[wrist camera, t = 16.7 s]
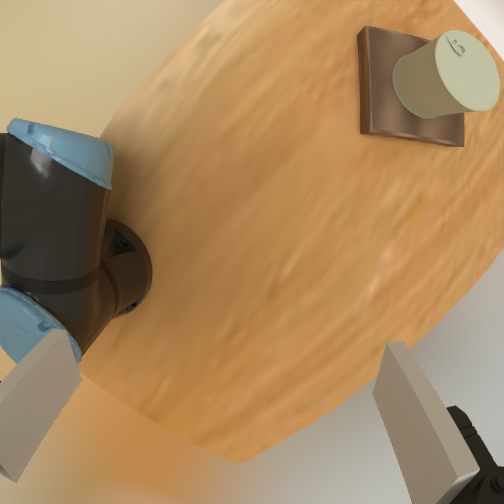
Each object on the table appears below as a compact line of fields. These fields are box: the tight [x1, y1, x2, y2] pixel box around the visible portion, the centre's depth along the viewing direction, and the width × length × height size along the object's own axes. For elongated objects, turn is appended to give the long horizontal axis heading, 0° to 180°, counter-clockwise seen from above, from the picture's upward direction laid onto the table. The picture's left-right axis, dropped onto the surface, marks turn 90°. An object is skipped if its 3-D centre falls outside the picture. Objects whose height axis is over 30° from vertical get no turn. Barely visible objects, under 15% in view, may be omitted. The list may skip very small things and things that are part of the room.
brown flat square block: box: [357, 26, 464, 147], centre depth 34 cm, size 15×15×4 cm
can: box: [392, 30, 500, 118], centre depth 27 cm, size 9×9×12 cm
